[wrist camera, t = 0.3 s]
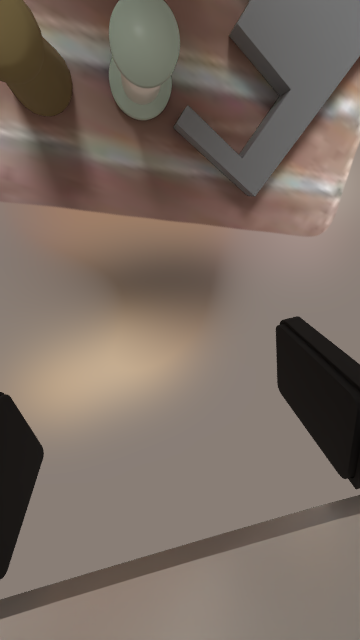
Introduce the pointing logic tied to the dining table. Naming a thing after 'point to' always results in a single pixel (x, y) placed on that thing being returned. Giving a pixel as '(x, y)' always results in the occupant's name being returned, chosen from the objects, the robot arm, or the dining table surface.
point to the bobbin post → (142, 56)
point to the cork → (31, 62)
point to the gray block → (282, 80)
